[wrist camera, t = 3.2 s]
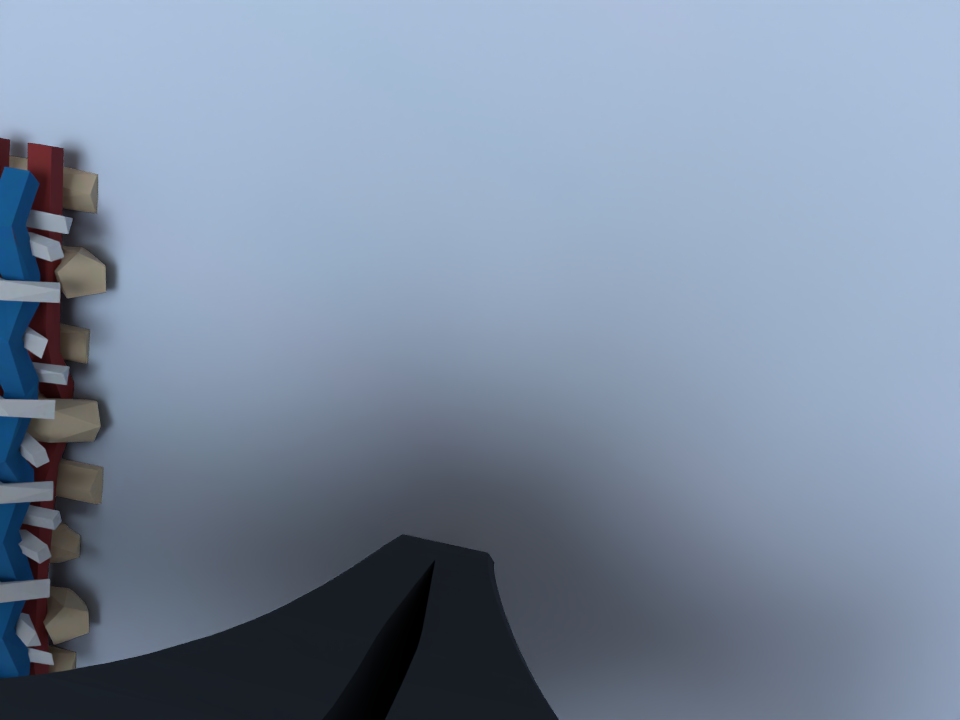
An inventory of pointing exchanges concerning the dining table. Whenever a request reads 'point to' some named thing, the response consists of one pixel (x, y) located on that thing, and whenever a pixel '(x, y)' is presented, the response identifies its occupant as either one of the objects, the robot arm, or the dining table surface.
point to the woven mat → (41, 405)
